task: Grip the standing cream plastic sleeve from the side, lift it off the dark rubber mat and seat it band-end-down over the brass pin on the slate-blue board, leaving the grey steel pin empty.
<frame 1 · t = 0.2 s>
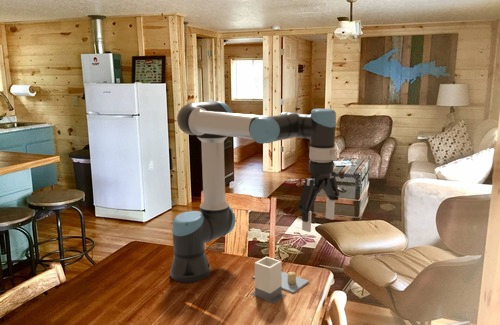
hand: (318, 224, 133), 27 cm above the table, tool pointing down, fingers open, 13 cm apart
sleeve: (268, 294, 141), point 1 cm above the table, touching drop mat
pin board: (280, 281, 151), on the table
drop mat: (268, 296, 141), on the table
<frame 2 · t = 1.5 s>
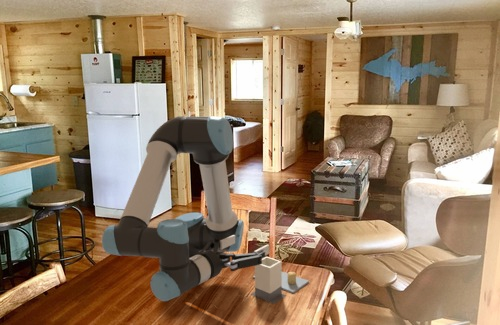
hand: (250, 243, 130), 22 cm above the table, tool horizontal, fingers open, 13 cm apart
nothing on the table moved.
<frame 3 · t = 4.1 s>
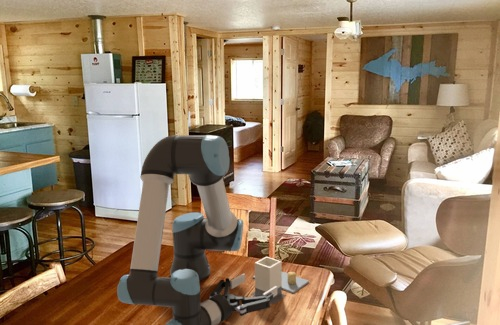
hand: (259, 283, 136), 7 cm above the table, tool horizontal, fingers open, 13 cm apart
nothing on the table moved.
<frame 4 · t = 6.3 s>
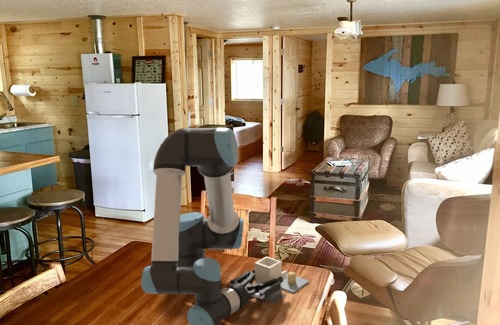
hand: (277, 271, 144), 7 cm above the table, tool horizontal, fingers closed on sleeve, 6 cm apart
sleeve: (268, 294, 141), point 1 cm above the table, touching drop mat, gripper
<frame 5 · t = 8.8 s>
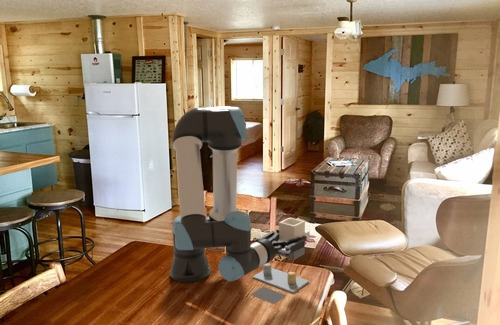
hand: (300, 232, 148), 19 cm above the table, tool horizontal, fingers closed on sleeve, 6 cm apart
sleeve: (291, 254, 146), point 12 cm above the table, touching gripper
when the fingers open (9 cm above the table, at t = 11.2 s): sleeve drops 1 cm, resting on pin board.
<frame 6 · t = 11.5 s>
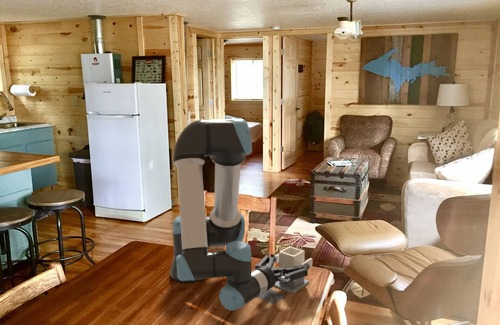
hand: (298, 257, 150), 9 cm above the table, tool horizontal, fingers open, 10 cm apart
sleeve: (291, 282, 148), point 1 cm above the table, touching pin board
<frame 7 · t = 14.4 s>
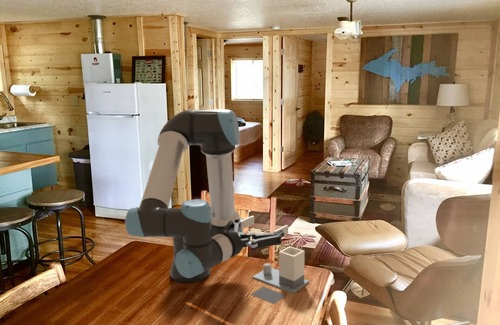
hand: (269, 224, 133), 27 cm above the table, tool horizontal, fingers open, 13 cm apart
nothing on the table moved.
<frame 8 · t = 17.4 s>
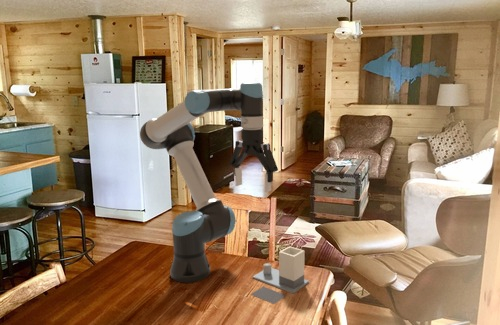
hand: (253, 188, 147), 35 cm above the table, tool pointing down, fingers open, 13 cm apart
nothing on the table moved.
at the end: sleeve 0.1 cm from the target spot on the pin board, point 1.2 cm above the pin board's base; sleeve tilted 0°; the gripper is holding nothing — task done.
